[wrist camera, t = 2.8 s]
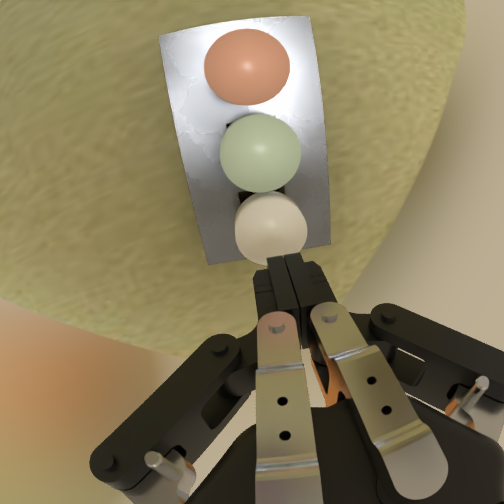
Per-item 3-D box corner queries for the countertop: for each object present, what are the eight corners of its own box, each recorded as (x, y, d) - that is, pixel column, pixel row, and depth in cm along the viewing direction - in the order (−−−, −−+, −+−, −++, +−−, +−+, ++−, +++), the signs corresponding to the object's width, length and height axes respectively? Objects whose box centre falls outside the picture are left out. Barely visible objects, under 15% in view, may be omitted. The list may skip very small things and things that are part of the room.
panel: (166, 42, 15) (158, 36, 13) (300, 24, 15) (309, 15, 13) (209, 248, 23) (208, 264, 21) (321, 229, 23) (330, 244, 21)
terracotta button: (204, 48, 14) (197, 35, 10) (271, 39, 14) (283, 25, 10) (215, 108, 16) (211, 112, 12) (280, 99, 16) (295, 100, 12)
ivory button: (228, 184, 18) (229, 207, 15) (289, 174, 18) (305, 195, 15) (238, 238, 20) (242, 270, 17) (295, 229, 20) (308, 259, 17)
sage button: (216, 116, 16) (213, 122, 13) (281, 107, 16) (296, 110, 13) (227, 177, 18) (227, 198, 15) (289, 167, 18) (304, 186, 15)
